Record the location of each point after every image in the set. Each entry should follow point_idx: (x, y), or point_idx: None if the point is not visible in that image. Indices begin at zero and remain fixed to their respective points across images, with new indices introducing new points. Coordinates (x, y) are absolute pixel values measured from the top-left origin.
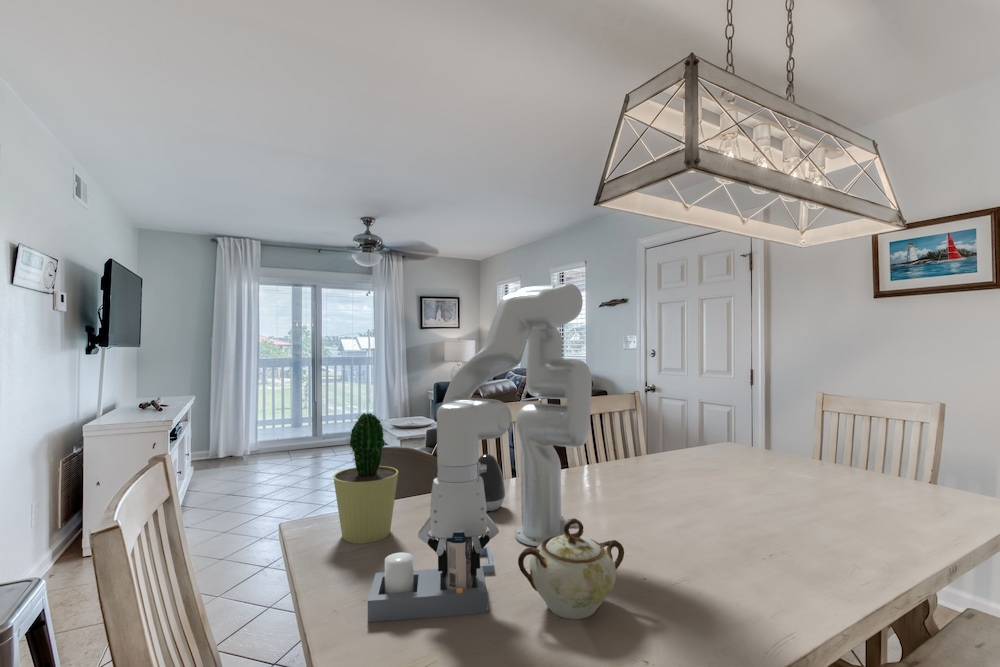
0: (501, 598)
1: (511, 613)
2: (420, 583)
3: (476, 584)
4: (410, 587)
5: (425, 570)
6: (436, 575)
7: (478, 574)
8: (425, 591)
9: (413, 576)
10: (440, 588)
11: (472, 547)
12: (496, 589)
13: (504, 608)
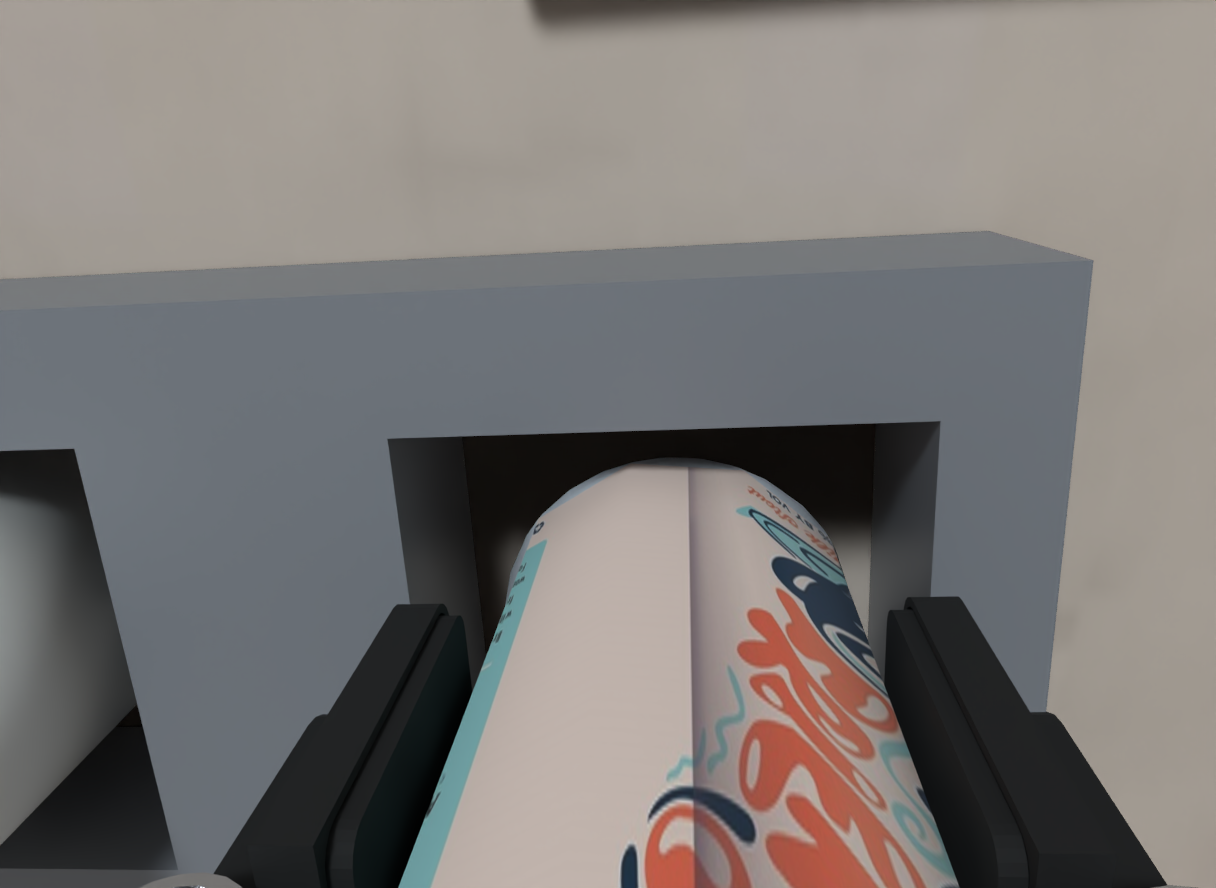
0: (1152, 578)
1: (1179, 841)
2: (168, 696)
3: (905, 596)
4: (72, 762)
5: (143, 334)
6: (340, 507)
7: (973, 551)
8: None
9: (18, 737)
10: (443, 516)
11: (1034, 875)
12: (1144, 375)
13: (1133, 757)
